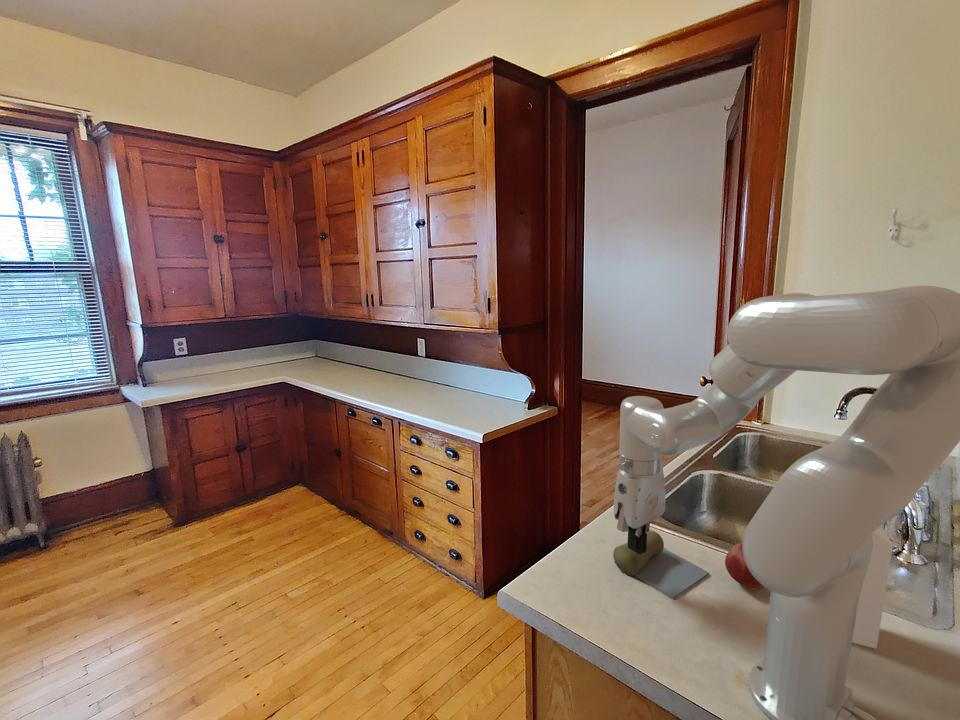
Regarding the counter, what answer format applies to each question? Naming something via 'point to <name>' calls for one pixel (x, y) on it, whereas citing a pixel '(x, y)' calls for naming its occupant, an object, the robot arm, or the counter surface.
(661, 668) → the counter surface
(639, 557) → the olive brown rounded cylinder
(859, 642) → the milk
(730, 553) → the fruit
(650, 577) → the grey mat
